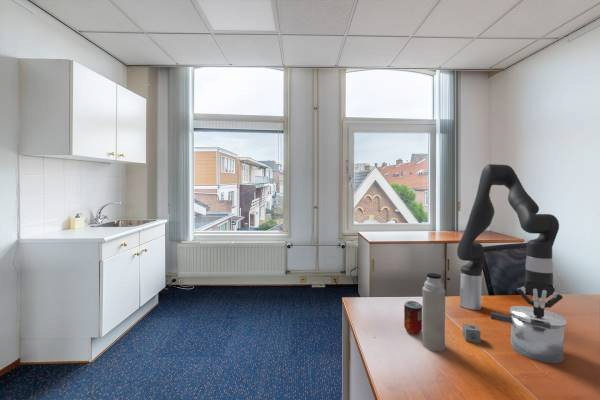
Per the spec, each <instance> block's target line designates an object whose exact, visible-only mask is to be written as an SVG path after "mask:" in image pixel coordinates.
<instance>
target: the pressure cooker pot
mask: <svg viewBox="0 0 600 400" xmlns="http://www.w3.org/2000/svg"><path fill="white" fill-rule="evenodd" d="M490 320H495V321H499V322H503V323H508V324H510V347H511V349H512V350H514V351H515V352H517V353H518V354H519V355H521V356H524V357H526V358H528V359H531V360H534V361H537V362H542V363H545V364H546V363H547V364H558V363H559V364H560V363H562V362H564V361H563V360H564V348H565V347H564V345H565V343H564V342H565V341H564V340H565V339H564V338H565V326H564V327H550V328H546V327H541V326H536V325H531V323H529V322H526V321H523V320H520V319H518V318H516V317H514V316H512V315H511V314H510V315H508V314H502V313H499V312H493V311H491V312H490Z"/></svg>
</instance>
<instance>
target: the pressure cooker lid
mask: <svg viewBox="0 0 600 400" xmlns="http://www.w3.org/2000/svg"><path fill="white" fill-rule="evenodd" d="M509 314H510V316H511V315H512V316H514V317H516V318H518V319H520V320H523V321H526V322H529V323H531V325H536V326H541V327H546V328H550V327H564V328H565V326H567V319H566V317H564V316H562V315H560V314H559V313H556V312H553V311H550V310H547V309H544V317H542V318H537V317H536V316H535V315H534V313H533V306H525V305H513V306H510V307H509Z"/></svg>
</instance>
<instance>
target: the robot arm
mask: <svg viewBox="0 0 600 400" xmlns="http://www.w3.org/2000/svg"><path fill="white" fill-rule="evenodd" d="M492 186H504V187H505V188H507V189H508V190H509V191H508V195H507V200H508V204H509V205H510V207H511V208H512V210H513V211H514V212H515V213H516V214H517V218H518V221H519V225H520V227H521V229H522V230H523V231H524V232H526V233H528V234H537V235H538V234H539V235H538V237H537V238H534V239H530V240H528V241H527V242H526V258H525V282H524V283H523V286H521V287H517V288H516V289H517V293H518V294H519V295H520V296H521V297H522V298H523V299H524V301H525V302H526V303H527V304H528V305H531V306H532V307H533V313H534V315H535V316H536V317H537V318H542V317H544V310H545V309H546V308H547V309H550V308H552V307H553V306H554V305H556V304H557V303H558V302H560V301H561V300H562V299H563V297H564V296H563V295H562V294H561V293H559V292H557V291H556V288H555V287H554V261H553V246H554V243H555V241H556V237H557V235H558V232H559V230H560V222H559V220H558V218H557V217H556V216H555V215H553V214H551V213H539V210H540V207H539V205H538V203H537V202H536V201H535V200H534V199H533V198H532V197H531V196H530V194H528V193H527V191H526V190H525V188H524V186H523V185H522V182H521V181H520V179H519V177H518V175H517V174H516V172H515V170H514V169H513V168H512V167H511V166H510V165H508V164H498V163H497V164H496V163H494V164H492V163H490V164H486V165H485V166H484V167H483V168H482V171H481V174H480V178H479V183H478V186H477V187H478V188H477V191H476V195H475V199H474V202H473V205H472V208H471V211H470V213H469V217H468V220H467V224H466V227H465V229H464V232H463V234H462V236H461V238H460V240H459V242H458V244H457V245H458V246H457V248H456V255H457V257H458V259H459V260H461V261H465V262H466V261H468V263H466V264H464V265H462V266H461V267H460V287H459V307H462V308H464V309H468V310H474V311H479V310H481V309H482V279H483V278H482V275H483V270H484V264H485V263H484V262H485V251H484V246H483V245H482V244H481V243H480V242H475V241H476V239H477V238H478V237H480V235H481V234H483V233H484V232H485V231H486V230H487V229H488V228H489V227H490V225H491V223H492V221H493V218H494V215H495V208H494V205H493V203H492V200H491V197H490V194H491V188H492ZM526 291H527V293H528V294H529V295H530V296H531V297H532V299H530V298H529V296H528V295H527V294H526ZM550 296H552V297H551V298H550V299H549V297H550ZM547 299H548V300H547ZM546 300H547V301H546Z"/></svg>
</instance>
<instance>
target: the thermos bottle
mask: <svg viewBox="0 0 600 400" xmlns="http://www.w3.org/2000/svg"><path fill="white" fill-rule="evenodd" d="M426 276H427V278H426V280H425V281H424V284H423V285H424V286H422V304H421V305H422V330H421V344H422V346H423V347H424V348H426V349H427V350H430V351H434V352H442V351H444V350H445V349H446V347H445V346H446V289H445V288H444V287H445V286H444V283H442V279H441V278H442V275H441V274H440V273H439V274H438V273H434V272H429V273H427V274H426Z"/></svg>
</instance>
